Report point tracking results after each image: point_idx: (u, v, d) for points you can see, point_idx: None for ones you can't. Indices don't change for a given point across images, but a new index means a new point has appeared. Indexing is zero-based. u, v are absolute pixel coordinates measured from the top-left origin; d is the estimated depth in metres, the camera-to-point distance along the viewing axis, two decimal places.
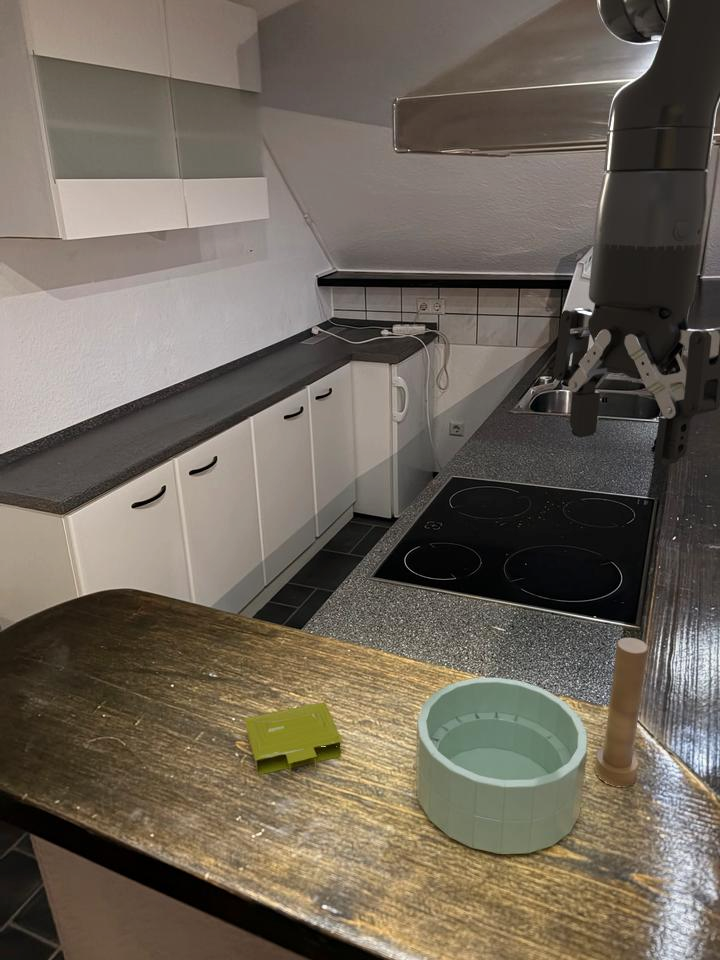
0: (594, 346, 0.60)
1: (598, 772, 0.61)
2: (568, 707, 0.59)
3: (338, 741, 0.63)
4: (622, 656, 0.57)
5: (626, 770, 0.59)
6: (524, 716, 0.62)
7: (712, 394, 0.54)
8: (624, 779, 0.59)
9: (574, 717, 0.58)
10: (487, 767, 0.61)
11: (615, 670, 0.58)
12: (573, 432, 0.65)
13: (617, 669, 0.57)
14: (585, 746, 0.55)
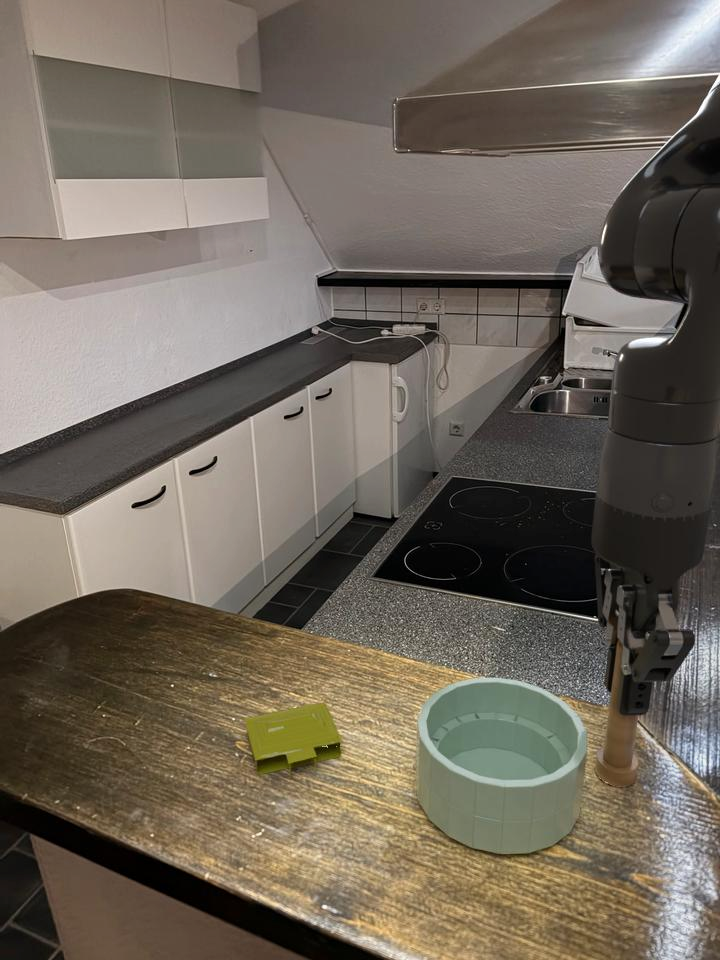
0: (607, 590, 0.57)
1: (598, 772, 0.61)
2: (568, 707, 0.59)
3: (338, 741, 0.63)
4: None
5: (626, 770, 0.60)
6: (524, 716, 0.62)
7: (666, 671, 0.53)
8: (624, 778, 0.59)
9: (574, 717, 0.58)
10: (487, 767, 0.61)
11: (615, 670, 0.58)
12: (605, 685, 0.60)
13: (617, 669, 0.57)
14: (585, 746, 0.55)
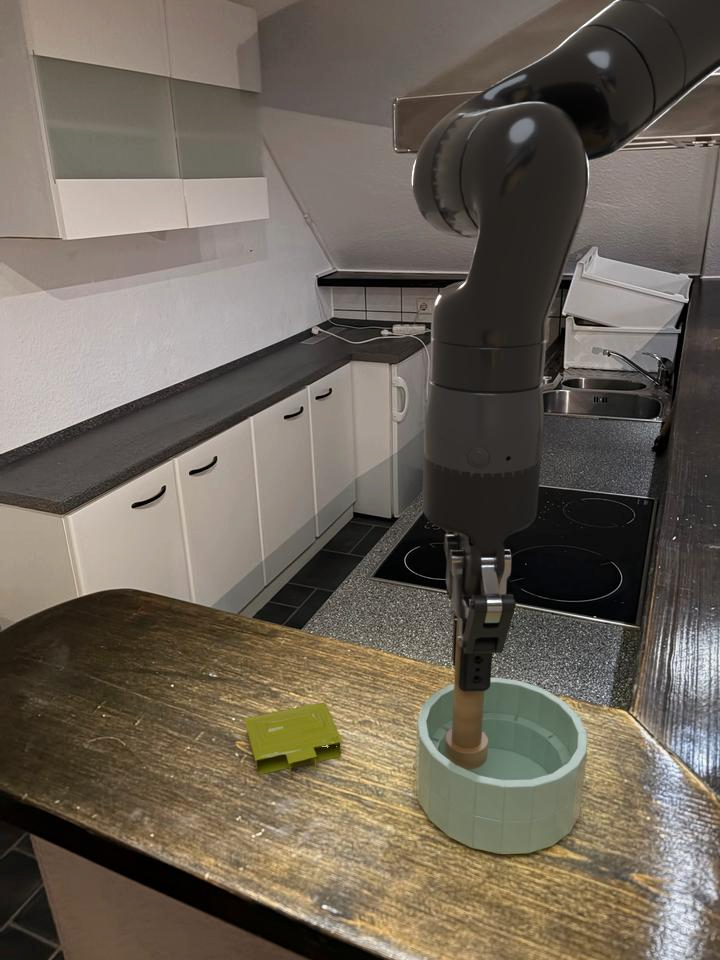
0: None
1: (446, 753, 0.57)
2: (568, 707, 0.59)
3: (338, 741, 0.63)
4: None
5: (473, 750, 0.56)
6: (524, 716, 0.62)
7: (496, 642, 0.49)
8: (471, 759, 0.56)
9: (574, 717, 0.58)
10: (487, 767, 0.61)
11: (456, 643, 0.54)
12: None
13: (457, 642, 0.54)
14: (585, 746, 0.55)
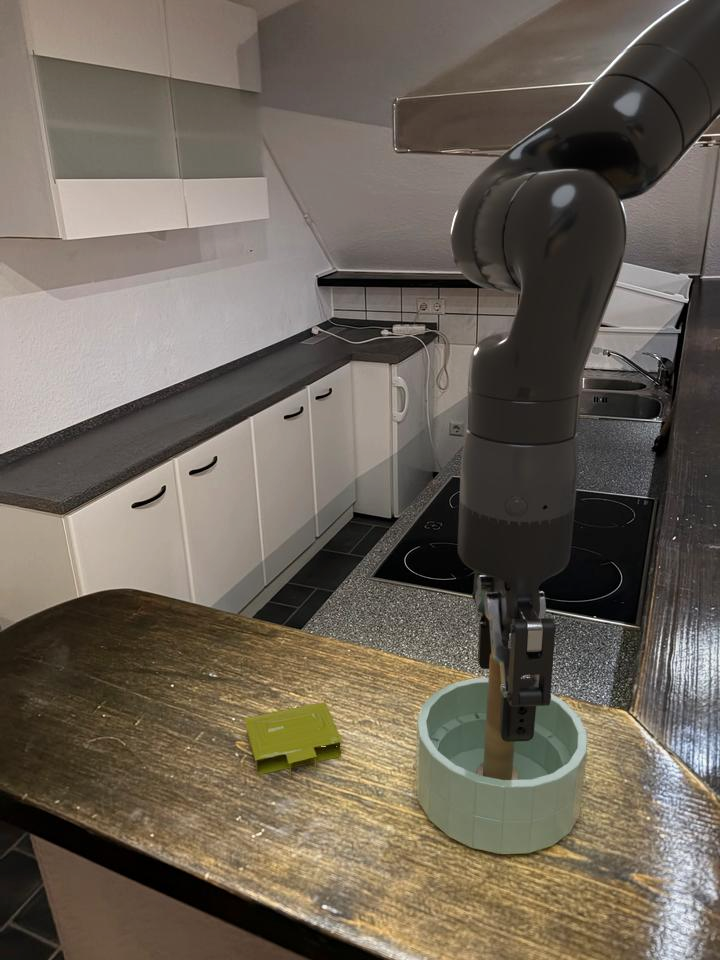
0: None
1: None
2: (568, 707, 0.59)
3: (338, 741, 0.63)
4: (494, 668, 0.54)
5: None
6: None
7: (542, 688, 0.48)
8: None
9: (574, 717, 0.58)
10: None
11: (489, 683, 0.55)
12: (478, 661, 0.60)
13: (490, 682, 0.55)
14: (585, 746, 0.55)
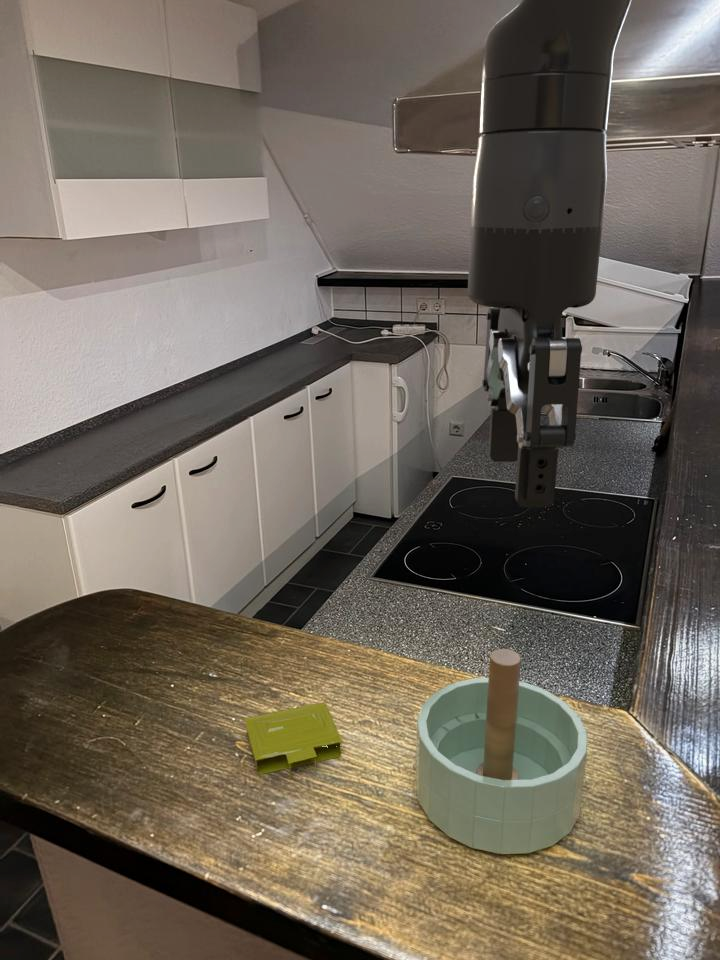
0: None
1: None
2: (568, 707, 0.59)
3: (338, 741, 0.63)
4: (494, 668, 0.54)
5: None
6: (524, 716, 0.62)
7: (565, 424, 0.42)
8: None
9: (574, 717, 0.58)
10: None
11: (489, 683, 0.55)
12: (489, 454, 0.54)
13: (490, 682, 0.55)
14: (585, 746, 0.55)
